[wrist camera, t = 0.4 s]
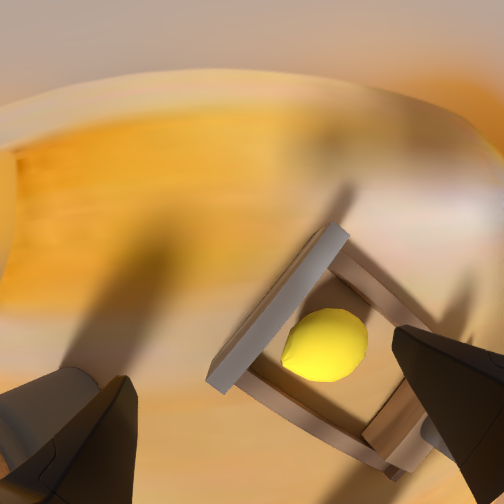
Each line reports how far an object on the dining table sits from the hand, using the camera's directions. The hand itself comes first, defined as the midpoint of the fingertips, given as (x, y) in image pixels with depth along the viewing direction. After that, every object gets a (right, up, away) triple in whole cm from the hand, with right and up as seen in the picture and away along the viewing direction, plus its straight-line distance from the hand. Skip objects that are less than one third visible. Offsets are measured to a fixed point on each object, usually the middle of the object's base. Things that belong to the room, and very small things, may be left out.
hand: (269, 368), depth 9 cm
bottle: (-16, -10, +12) cm, 23 cm away
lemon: (+5, -3, +14) cm, 15 cm away
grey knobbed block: (+14, -11, +14) cm, 22 cm away
